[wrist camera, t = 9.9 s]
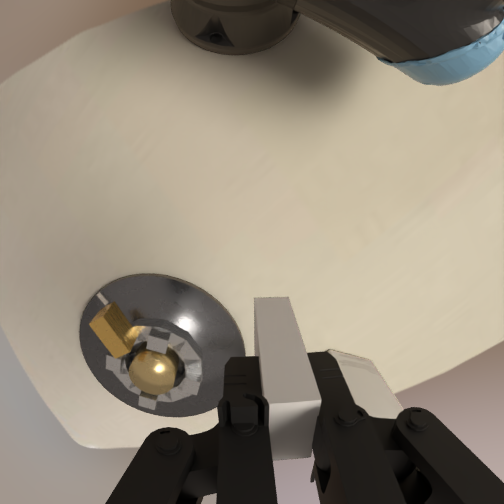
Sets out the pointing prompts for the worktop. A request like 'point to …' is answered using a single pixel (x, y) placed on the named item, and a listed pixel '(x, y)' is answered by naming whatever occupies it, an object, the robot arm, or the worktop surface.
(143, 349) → the bowl
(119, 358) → the ring nut
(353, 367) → the skincare box
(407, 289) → the worktop surface
